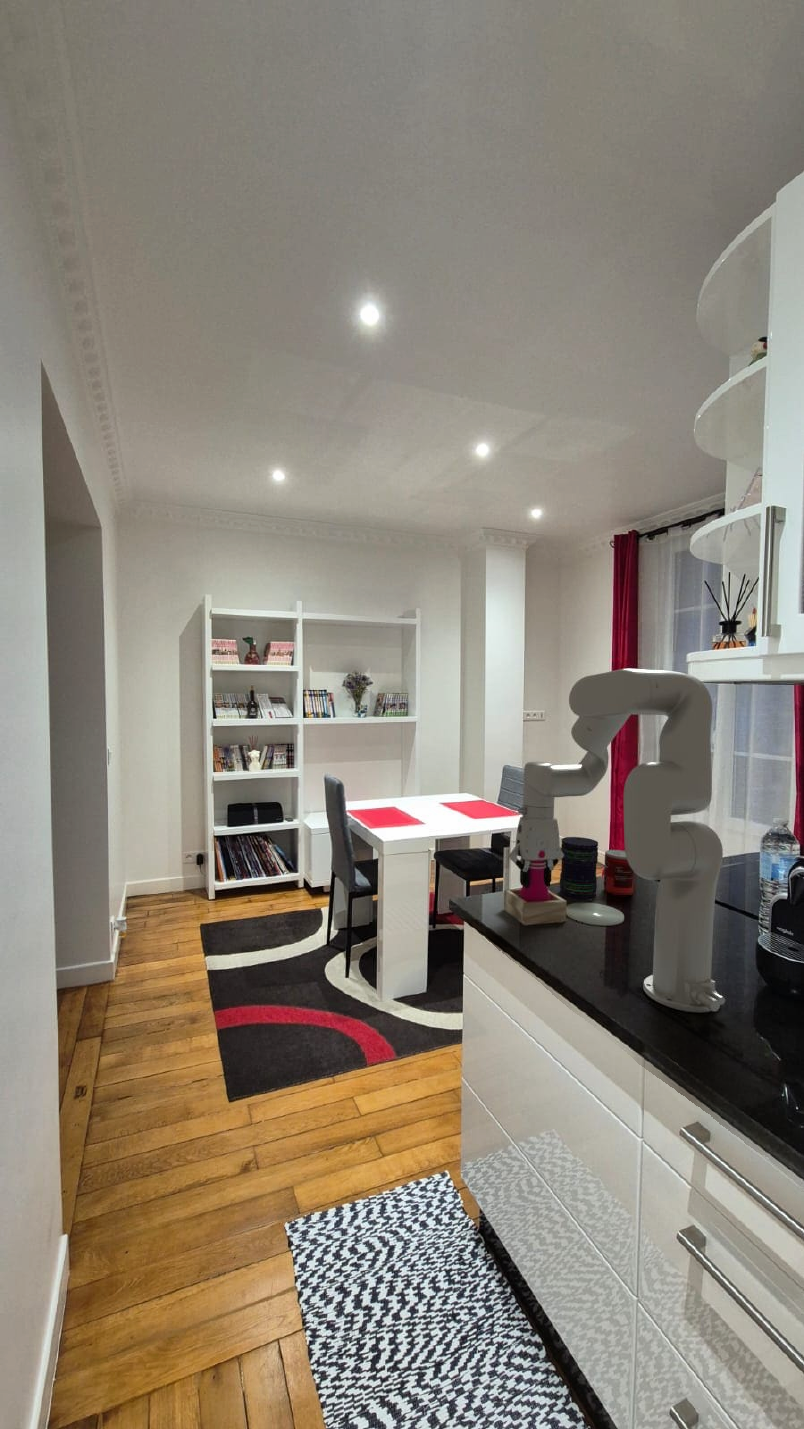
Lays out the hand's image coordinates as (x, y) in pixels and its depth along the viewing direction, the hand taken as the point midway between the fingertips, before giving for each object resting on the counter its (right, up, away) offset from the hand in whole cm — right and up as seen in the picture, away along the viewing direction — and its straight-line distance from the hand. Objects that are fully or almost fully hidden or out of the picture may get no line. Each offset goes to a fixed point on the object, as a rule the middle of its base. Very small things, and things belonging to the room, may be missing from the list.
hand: (535, 885), depth 149 cm
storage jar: (+15, -8, +17) cm, 24 cm away
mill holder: (0, -8, 0) cm, 8 cm away
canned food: (+28, -8, +21) cm, 36 cm away
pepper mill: (0, -8, 0) cm, 8 cm away
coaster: (+15, -8, +2) cm, 17 cm away
